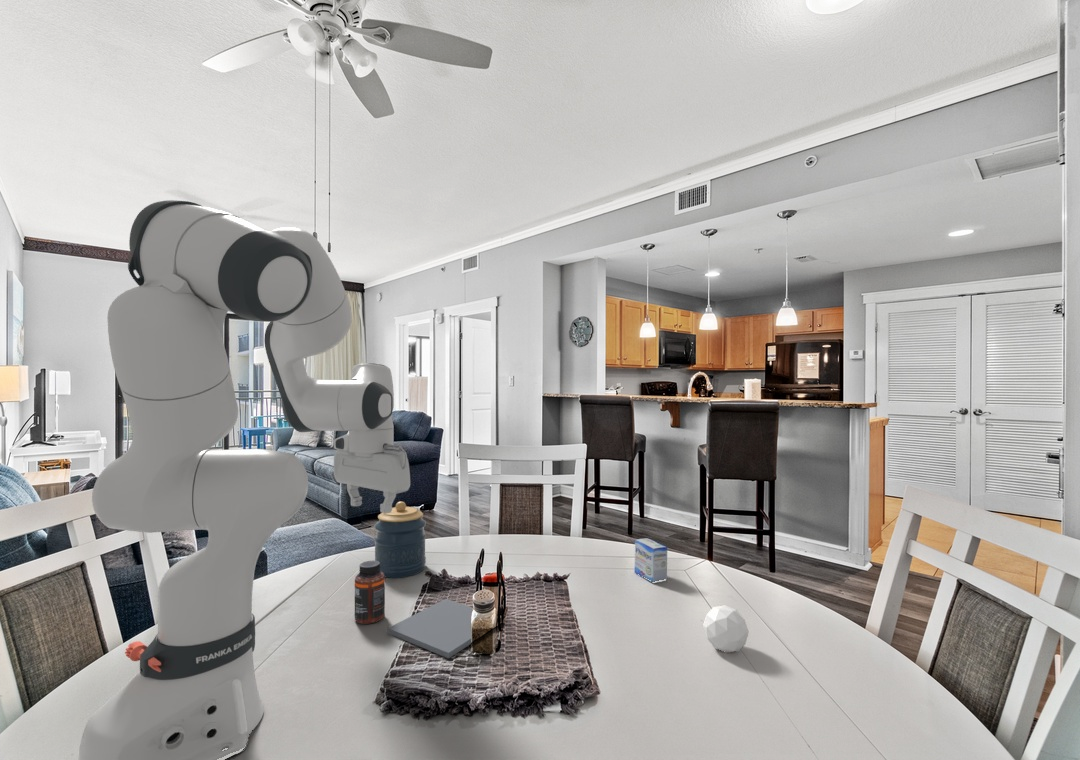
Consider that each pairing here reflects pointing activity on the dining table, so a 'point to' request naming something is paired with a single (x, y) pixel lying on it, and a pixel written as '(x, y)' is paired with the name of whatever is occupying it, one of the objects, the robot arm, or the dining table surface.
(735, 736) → the dining table surface
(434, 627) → the mat
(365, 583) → the supplement bottle
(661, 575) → the medicine box
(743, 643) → the geometric ball
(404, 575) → the canister
